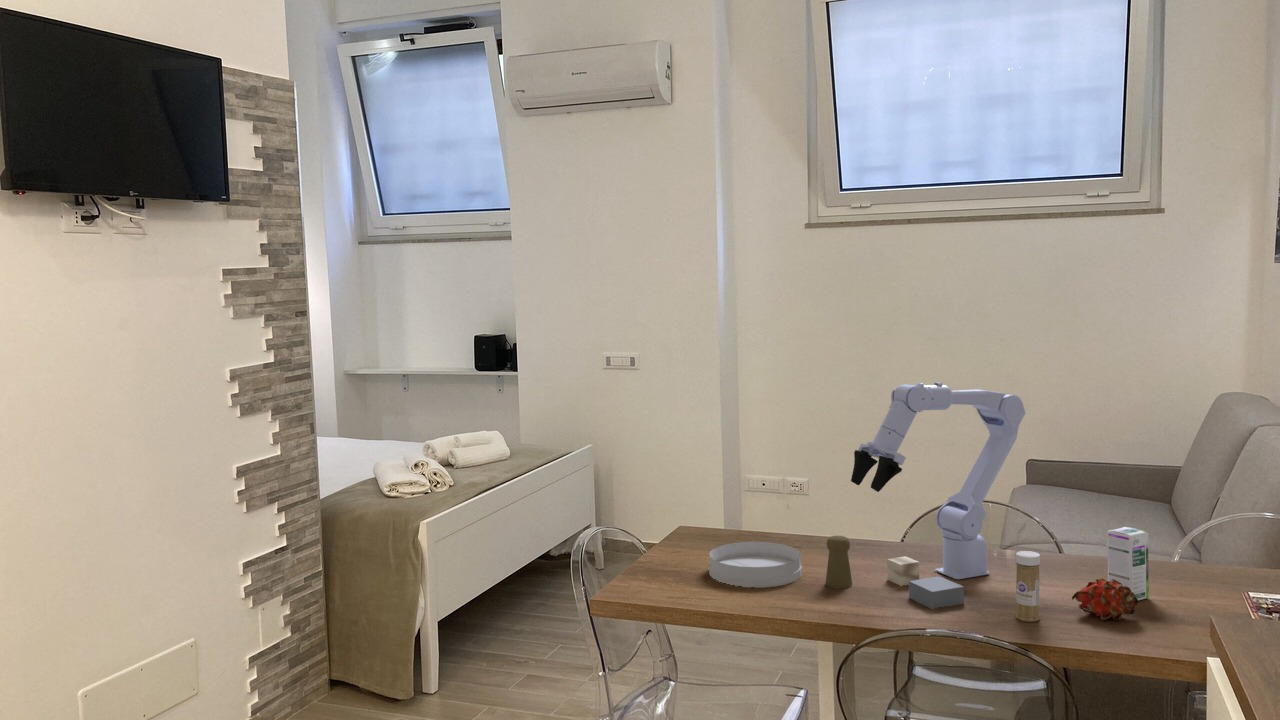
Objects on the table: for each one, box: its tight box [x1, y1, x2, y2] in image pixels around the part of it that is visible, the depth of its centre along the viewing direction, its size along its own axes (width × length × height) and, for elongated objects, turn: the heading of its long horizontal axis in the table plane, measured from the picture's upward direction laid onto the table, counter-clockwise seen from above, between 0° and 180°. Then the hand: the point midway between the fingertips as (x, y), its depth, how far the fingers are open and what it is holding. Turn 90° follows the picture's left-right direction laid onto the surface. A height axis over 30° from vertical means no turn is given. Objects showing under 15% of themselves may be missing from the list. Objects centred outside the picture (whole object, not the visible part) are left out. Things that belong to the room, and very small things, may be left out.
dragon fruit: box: [1071, 578, 1139, 621], centre depth 190 cm, size 8×8×12 cm
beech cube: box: [886, 555, 920, 587], centre depth 217 cm, size 5×5×5 cm
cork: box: [825, 535, 853, 589], centre depth 216 cm, size 6×6×11 cm
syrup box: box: [1106, 526, 1150, 601], centre depth 201 cm, size 6×6×14 cm
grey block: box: [908, 575, 965, 610], centre depth 203 cm, size 8×8×4 cm
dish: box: [708, 541, 803, 589], centre depth 227 cm, size 22×22×5 cm
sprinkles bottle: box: [1015, 550, 1041, 623], centre depth 190 cm, size 5×5×13 cm
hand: (864, 486), depth 211 cm, fingers open, 7 cm apart
